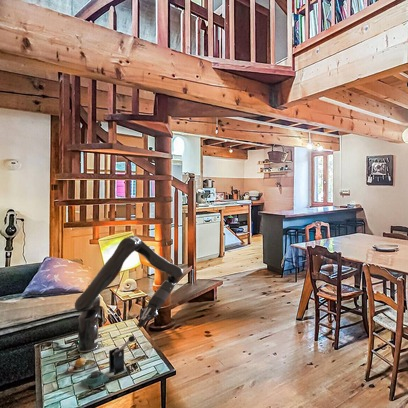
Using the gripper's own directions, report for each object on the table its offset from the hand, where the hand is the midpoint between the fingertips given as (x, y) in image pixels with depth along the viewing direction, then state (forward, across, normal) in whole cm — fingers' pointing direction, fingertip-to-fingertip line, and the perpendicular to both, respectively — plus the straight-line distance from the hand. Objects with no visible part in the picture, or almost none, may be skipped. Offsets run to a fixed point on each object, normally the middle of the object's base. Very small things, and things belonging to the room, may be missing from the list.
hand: (138, 327), depth 174 cm
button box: (+29, -1, -1) cm, 29 cm away
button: (+27, -1, -3) cm, 27 cm away
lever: (+11, 0, +1) cm, 11 cm away
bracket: (+23, 0, +6) cm, 23 cm away
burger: (+26, -21, +3) cm, 34 cm away
